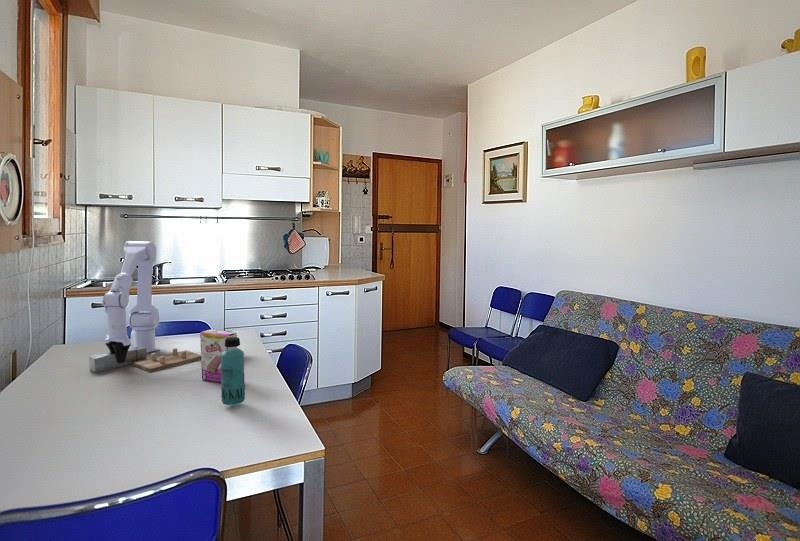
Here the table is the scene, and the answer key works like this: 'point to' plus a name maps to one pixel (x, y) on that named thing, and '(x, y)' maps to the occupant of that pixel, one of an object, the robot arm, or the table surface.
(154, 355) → the peg rack
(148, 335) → the robot arm
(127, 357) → the gray notched long block
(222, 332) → the candy bar box
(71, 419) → the table surface
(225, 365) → the beverage bottle
